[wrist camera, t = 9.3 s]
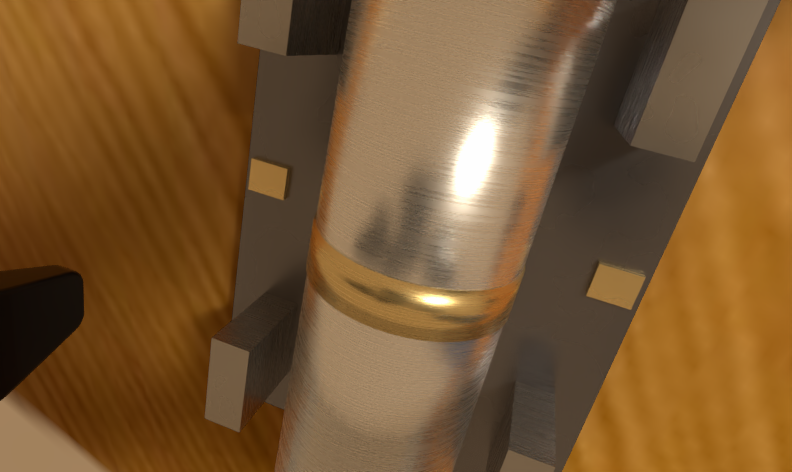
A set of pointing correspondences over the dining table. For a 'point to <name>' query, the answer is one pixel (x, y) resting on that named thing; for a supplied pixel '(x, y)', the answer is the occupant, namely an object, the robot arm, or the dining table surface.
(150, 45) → the dining table surface
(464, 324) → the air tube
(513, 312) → the collar cradle
